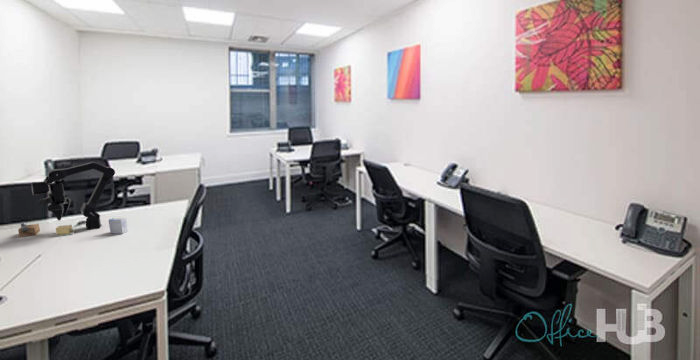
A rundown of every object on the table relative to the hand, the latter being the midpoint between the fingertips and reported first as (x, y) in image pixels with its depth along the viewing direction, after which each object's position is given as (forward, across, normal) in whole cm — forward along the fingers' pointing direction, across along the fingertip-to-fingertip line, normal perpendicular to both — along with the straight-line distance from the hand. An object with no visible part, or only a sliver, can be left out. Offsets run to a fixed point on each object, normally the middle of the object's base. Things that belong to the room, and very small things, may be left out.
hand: (61, 217), depth 194 cm
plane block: (+10, -8, -18) cm, 22 cm away
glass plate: (+10, 0, 0) cm, 10 cm away
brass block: (+9, 0, 0) cm, 9 cm away
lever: (+5, -2, -18) cm, 19 cm away
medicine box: (+10, +10, +28) cm, 32 cm away
